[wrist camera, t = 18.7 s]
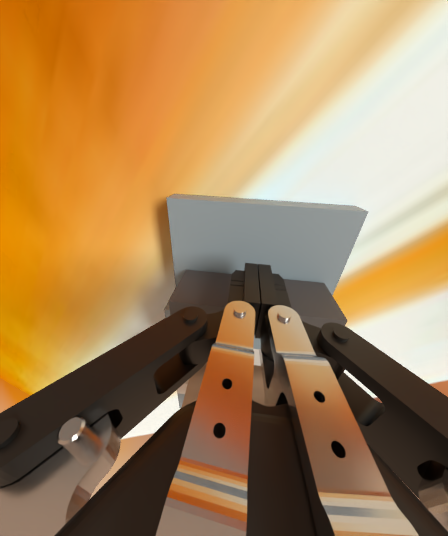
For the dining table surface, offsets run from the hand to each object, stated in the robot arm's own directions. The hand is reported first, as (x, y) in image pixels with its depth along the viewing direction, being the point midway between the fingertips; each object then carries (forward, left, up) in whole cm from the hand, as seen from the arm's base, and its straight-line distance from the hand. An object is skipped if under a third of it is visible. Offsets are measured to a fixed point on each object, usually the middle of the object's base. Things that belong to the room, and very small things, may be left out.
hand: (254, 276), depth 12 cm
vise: (+7, 0, -3) cm, 8 cm away
